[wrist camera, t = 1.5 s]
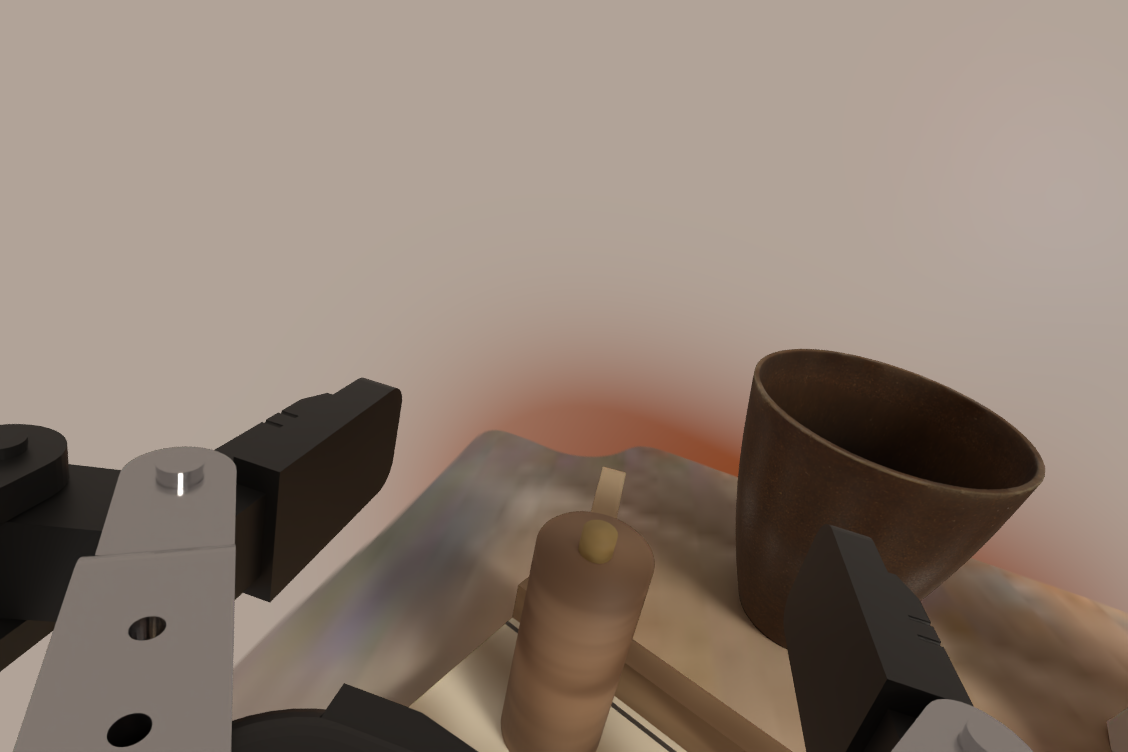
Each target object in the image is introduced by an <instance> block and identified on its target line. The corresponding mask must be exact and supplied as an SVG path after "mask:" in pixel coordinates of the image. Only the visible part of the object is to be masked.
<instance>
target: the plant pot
mask: <svg viewBox="0 0 1128 752" xmlns="http://www.w3.org/2000/svg"><path fill="white" fill-rule="evenodd" d="M1044 476H1045V465H1044V463H1043V460H1042V458H1041V456H1040V454H1039V453H1038V451H1037V450H1036V448H1035V447H1034V446H1033V445H1032V444H1031V442H1030V441H1029V440H1028V439H1027V438H1026V437H1025V436H1024V435H1023V434H1021V432H1019V431H1018V430H1017V429H1016V428H1015V427H1014V426H1012V425H1011V424H1010V423H1008V422H1007V421H1006V420H1005V419H1003V418H1002V417H1000V416H999V415H997V414H996V413H994V412H993V411H991V410H990V409H988V408H986V407H985V406H983V405H981V404H979V403H978V402H976V401H974V400H973V399H971V398H969V397H967V396H965V395H963V394H961V393H959V392H957V391H955V390H953V389H951V388H949V387H947V386H944V385H942V384H940V383H937V382H935V381H933V380H930V379H928V378H926V377H923V376H921V375H918V374H915V373H913V372H910V371H907V370H904V369H902V368H898V367H895V366H892V365H889V364H886V363H883V362H879V361H875V360H872V359H868V358H864V357H860V356H856V355H850V354H845V353H840V352H834V351H826V350H816V349H815V350H814V349H792V350H783V351H778V352H775V353H772V354H769V355H767V356H765V357H764V358H762V359H761V360H760V361H759V362H758V364H757V365H756V368H755V371H754V376H753V382H752V387H751V392H750V399H749V404H748V409H747V415H746V422H745V427H744V433H743V441H742V448H741V456H740V464H739V474H738V486H737V504H736V560H737V575H738V587H739V596H740V601H741V604H742V606H743V609H744V611H745V612H746V614H747V616H748V617H749V618H750V620H751V621H752V622H753V624H754V625H755V626H756V627H757V628H758V629H759V630H760V631H761V632H762V633H763V634H765V635H766V636H767V637H768V638H770V639H771V640H772V641H774V642H775V643H777V644H779V645H781V646H782V647H784V648H786V649H787V644H786V638H785V633H784V625H783V620H784V610H785V605H786V601H787V598H788V595H789V592H790V590H791V588H792V586H793V583H794V581H795V579H796V577H797V575H798V573H799V570H800V568H801V566H802V564H803V562H804V560H805V558H806V555H807V553H808V551H809V549H810V547H811V545H812V542H813V540H814V538H815V536H816V534H817V532H818V531H819V529H820V528H821V527H822V526H823V525H825V524H829V525H833V526H836V527H839V528H842V529H845V530H849V531H852V532H855V533H858V534H861V535H864V536H868V537H870V538H871V539H872V540H873V541H874V544H875V546H876V548H877V550H878V552H879V554H880V556H881V559H882V561H883V563H884V565H885V567H886V569H887V571H888V572H889V573H892V574H895V575H897V576H898V577H899V578H900V579H901V580H902V582H903V583H904V584H905V585H906V586H907V587H908V588H909V589H910V590H911V591H912V592H913V593H914V594H915V595H916V596H917V597H918V598H919V600H920V601H921V600H922V599H924V598H925V597H926V596H927V595H928V594H930V593H931V592H932V591H933V590H935V589H936V588H937V587H938V586H939V585H941V584H942V583H943V582H944V581H945V580H947V579H948V578H949V577H950V576H951V575H952V574H953V573H954V572H956V571H957V570H958V569H959V568H960V567H961V566H962V565H963V564H965V563H966V562H967V561H968V560H969V559H970V558H971V557H972V556H973V555H974V554H975V553H976V552H977V551H978V550H979V549H980V548H981V547H982V546H983V545H984V544H985V543H986V542H987V541H988V540H989V539H990V538H991V537H992V536H993V535H994V534H995V533H996V532H997V531H998V530H999V529H1000V528H1001V526H1003V524H1004V523H1005V522H1006V521H1007V520H1008V519H1009V518H1010V517H1011V516H1012V515H1013V514H1014V513H1015V511H1016V510H1017V509H1018V508H1019V507H1020V506H1021V505H1022V504H1023V503H1024V501H1025V500H1026V499H1027V498H1028V497H1029V496H1030V495H1031V494H1032V492H1033V491H1034V490H1035V489H1036V488H1037V487H1038V486H1039V485H1040V484H1041V482H1042V481H1043V479H1044Z"/></svg>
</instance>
